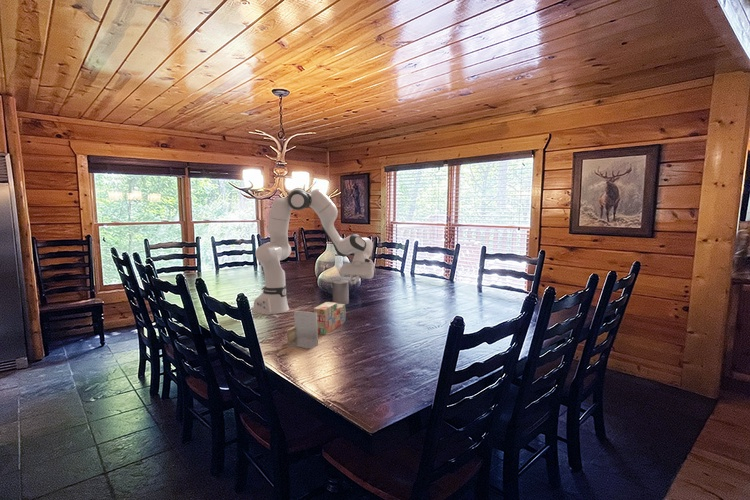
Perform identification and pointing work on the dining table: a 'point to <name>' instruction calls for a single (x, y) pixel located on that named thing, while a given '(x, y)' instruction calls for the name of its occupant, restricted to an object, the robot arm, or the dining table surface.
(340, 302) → the pillar candle
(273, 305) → the robot arm
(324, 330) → the stack of blocks
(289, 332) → the back rail
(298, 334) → the bookend
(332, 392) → the dining table surface
